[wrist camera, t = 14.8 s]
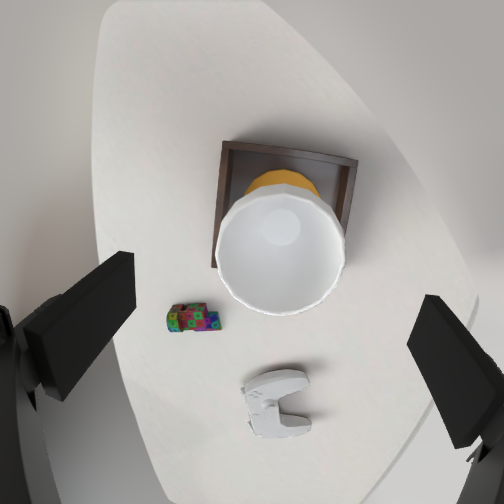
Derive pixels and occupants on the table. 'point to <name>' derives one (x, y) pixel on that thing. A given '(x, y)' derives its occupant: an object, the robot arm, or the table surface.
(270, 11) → the table surface
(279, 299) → the cup
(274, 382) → the game controller
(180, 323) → the block
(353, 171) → the holder
